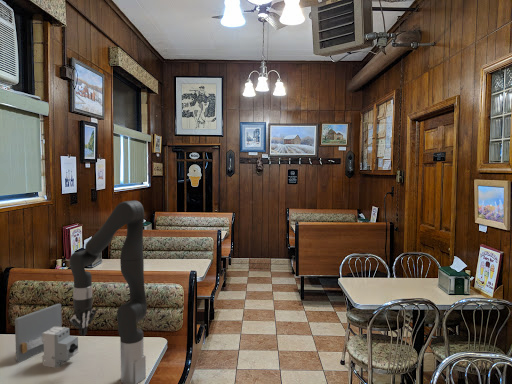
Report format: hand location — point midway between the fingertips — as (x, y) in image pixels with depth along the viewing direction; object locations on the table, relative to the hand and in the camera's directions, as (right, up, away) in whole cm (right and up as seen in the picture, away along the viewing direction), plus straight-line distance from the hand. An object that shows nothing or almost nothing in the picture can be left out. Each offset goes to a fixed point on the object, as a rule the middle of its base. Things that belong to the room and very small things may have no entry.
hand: (83, 335), depth 162 cm
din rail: (-27, -11, +17) cm, 34 cm away
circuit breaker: (-13, -16, +7) cm, 21 cm away
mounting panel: (-29, -15, +18) cm, 37 cm away
